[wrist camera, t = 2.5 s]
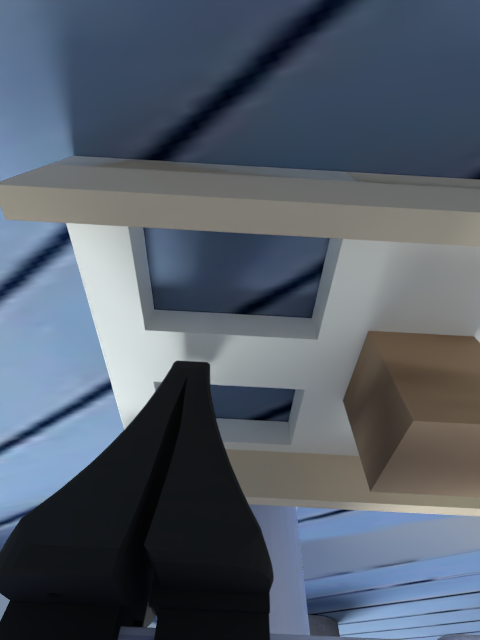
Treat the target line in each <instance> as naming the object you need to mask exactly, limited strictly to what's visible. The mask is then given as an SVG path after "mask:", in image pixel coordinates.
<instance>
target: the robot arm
mask: <svg viewBox="0 0 480 640" xmlns="http://www.w3.org/2000/svg"><path fill="white" fill-rule="evenodd" d="M297 508H298V507H288V506H269V505H249V504H248V502H247V500H246V498H245V496H244V493H243V491H242V489H241V487H240V485H239V482H238V480H237V478H236V475H235V473H234V470H233V468H232V466H231V463H230V461H229V458H228V455H227V453H226V450H225V447H224V444H223V441H222V438H221V435H220V431H219V428H218V424H217V421H216V417H215V413H214V408H213V403H212V398H211V392H210V364H209V363H208V362H196V361H175V362H174V363H173V365H172V367H171V369H170V370H169V372H168V374H167V375H166V377H165V378H164V380H163V381H162V383H161V384H160V386H159V387H158V389H157V390H156V391H155V393H154V394H153V395H152V397H151V398H150V399H149V401H148V402H147V403H146V405H145V406H144V407H143V408H142V410H141V411H140V412H139V413H138V415H137V416H136V417H135V418H134V419H133V421H132V422H131V423H130V424H129V425H128V426H127V427H126V429H125V430H124V431H123V432H122V433H121V434H120V435H119V436H118V437H117V438H116V439H115V440H114V441H113V442H112V443H111V444H110V445H109V446H108V447H107V448H106V449H105V450H104V451H103V452H102V453H101V454H100V455H99V456H98V457H97V458H96V459H95V460H94V461H93V462H92V463H90V464H89V465H88V466H87V467H86V468H85V469H84V470H82V471H81V472H80V473H79V474H78V475H76V476H75V477H74V478H73V479H72V480H71V481H69V482H68V483H67V484H66V485H65V486H63V487H62V488H61V489H60V490H58V491H57V492H56V493H55V494H53V495H52V496H51V497H49V498H48V499H47V500H45V501H44V502H43V503H41V504H40V505H39V506H37V507H36V508H35V509H33V510H32V511H31V512H29V513H28V514H27V515H25V516H24V517H22V518H21V520H20V521H19V523H18V524H17V526H16V527H15V529H14V530H13V532H12V533H11V535H10V536H9V538H8V539H7V541H6V543H5V544H4V546H3V548H2V550H1V552H0V593H1V594H2V595H4V596H5V597H6V598H8V599H9V600H10V602H9V604H8V606H7V608H6V611H5V612H4V615H3V617H2V619H1V621H0V640H396V639H375V638H354V637H333V636H312V635H310V630H309V621H308V612H307V603H306V594H305V584H304V575H303V566H302V558H301V549H300V539H299V530H298V521H297V512H296V511H297ZM156 615H157V617H158V619H157V625H156V628H147V627H148V626H149V625H150V624H151V622H152V621H153V620H154V619H155V617H156ZM438 640H480V635H465V634H452V635H446V636H442V637H440V638H439V639H438Z"/></svg>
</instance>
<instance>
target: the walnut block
mask: <svg viewBox="0 0 480 640" xmlns="http://www.w3.org/2000/svg"><path fill="white" fill-rule="evenodd" d="M343 403H344V406H345V410H346V413H347V416H348V420H349V423H350V426H351V430H352V433H353V436H354V440H355V443H356V446H357V449H358V453H359V456H360V459H361V463H362V466H363V469H364V473H365V476H366V479H367V483H368V486H369V489H370V492H384V493H404V494H423V495H442V496H462V497H480V342H479V341H478V340H477V339H476V338H475V337H474V336H456V335H438V334H420V333H402V332H383V331H368V333H367V336H366V339H365V341H364V344H363V347H362V350H361V352H360V355H359V358H358V360H357V363H356V366H355V368H354V371H353V374H352V377H351V379H350V382H349V385H348V387H347V390H346V393H345V396H344V398H343Z"/></svg>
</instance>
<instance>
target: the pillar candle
mask: <svg viewBox="0 0 480 640" xmlns="http://www.w3.org/2000/svg"><path fill="white" fill-rule="evenodd" d="M308 621H309V630H310V635H312V636H333V637H340V635H339V629H338V623H337V621H335V620H334V619H332V618H329V617H325V616H320V615H311V614H308Z"/></svg>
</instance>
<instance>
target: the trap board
mask: <svg viewBox="0 0 480 640" xmlns="http://www.w3.org/2000/svg"><path fill="white" fill-rule="evenodd" d="M0 206H1V208H2V211H3V213H4V216H5V218H6V220H22V221H39V222H57V223H66V224H67V228H68V231H69V235H70V238H71V242H72V245H73V249H74V253H75V256H76V260H77V263H78V267H79V270H80V274H81V277H82V281H83V285H84V288H85V292H86V295H87V299H88V302H89V306H90V309H91V313H92V317H93V320H94V324H95V327H96V331H97V334H98V338H99V341H100V345H101V349H102V352H103V356H104V359H105V363H106V366H107V370H108V373H109V377H110V380H111V384H112V388H113V391H114V395H115V398H116V402H117V405H118V409H119V412H120V416H121V420H122V423H123V427H124V430H125V429H126V427H127V426H128V425H129V424H130V423H131V422H132V421H133V419H134V418H135V417H136V416H137V415H138V413H139V412H140V411H141V410H142V408H143V407H144V406H145V405H146V403H147V402H148V401H149V399H150V398H151V397H152V395H153V394H154V393H155V391H156V390H157V389H158V387H159V386H160V384H161V383H162V381H163V380H164V378H165V377H166V375H167V374H168V372H169V370H170V369H171V367H172V365H173V363H174V362H175V361H196V362H208V363H209V364H210V385H227V386H246V387H264V388H283V389H296V390H295V394H294V399H293V403H292V407H291V412H290V416H289V421H288V422H280V421H261V420H242V419H223V418H216V421H217V424H218V428H219V431H220V435H221V438H222V441H223V444H224V447H225V450H226V453H227V455H228V458H229V461H230V463H231V466H232V468H233V470H234V473H235V475H236V478H237V480H238V482H239V485H240V487H241V489H242V491H243V493H244V496H245V498H246V500H247V502H248V504H249V505H269V506H288V507H308V508H328V509H347V510H367V511H386V512H406V513H426V514H445V515H465V516H480V497H462V496H442V495H423V494H404V493H384V492H370V489H369V486H368V483H367V479H366V476H365V473H364V469H363V466H362V463H361V459H360V456H359V453H358V449H357V446H356V443H355V440H354V436H353V433H352V430H351V426H350V423H349V420H348V416H347V413H346V410H345V406H344V403H343V398H344V396H345V393H346V390H347V387H348V385H349V382H350V379H351V377H352V374H353V371H354V368H355V366H356V363H357V360H358V358H359V355H360V352H361V350H362V347H363V344H364V341H365V339H366V336H367V333H368V331H383V332H402V333H420V334H438V335H456V336H474V337H475V338H476V339H477V340H478V341H479V342H480V180H478V179H461V178H444V177H427V176H410V175H393V174H376V173H359V172H342V171H325V170H308V169H291V168H273V167H256V166H239V165H222V164H205V163H188V162H171V161H154V160H137V159H120V158H103V157H86V156H71V157H68V158H65V159H63V160H60V161H57V162H54V163H51V164H48V165H46V166H43V167H40V168H37V169H34V170H31V171H29V172H26V173H23V174H20V175H17V176H14V177H12V178H9V179H6V180H3V181H0ZM143 227H144V228H162V229H179V230H197V231H214V232H232V233H249V234H267V235H284V236H302V237H319V238H330V240H329V244H328V249H327V253H326V257H325V262H324V266H323V271H322V275H321V279H320V284H319V288H318V293H317V297H316V302H315V306H314V310H313V315H312V318H299V317H281V316H263V315H245V314H226V313H208V312H190V311H172V310H154V303H153V296H152V289H151V281H150V274H149V267H148V259H147V252H146V245H145V237H144V230H143Z"/></svg>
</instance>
